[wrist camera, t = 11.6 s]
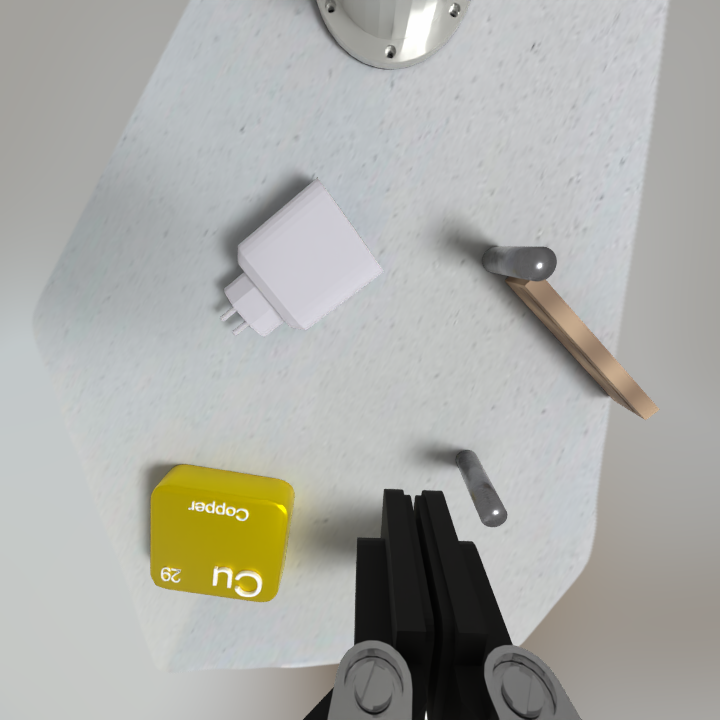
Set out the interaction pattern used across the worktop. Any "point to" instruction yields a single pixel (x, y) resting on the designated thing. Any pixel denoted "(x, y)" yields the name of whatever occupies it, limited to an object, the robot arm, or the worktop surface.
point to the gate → (582, 344)
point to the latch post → (481, 489)
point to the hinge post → (521, 262)
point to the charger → (299, 265)
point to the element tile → (220, 532)
